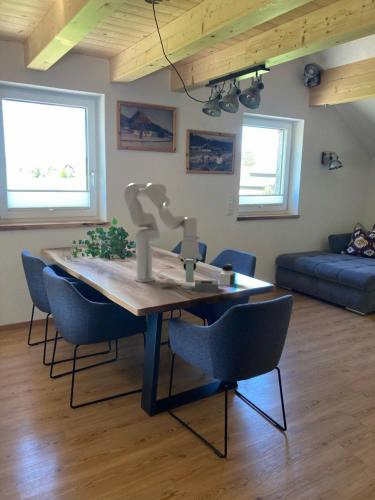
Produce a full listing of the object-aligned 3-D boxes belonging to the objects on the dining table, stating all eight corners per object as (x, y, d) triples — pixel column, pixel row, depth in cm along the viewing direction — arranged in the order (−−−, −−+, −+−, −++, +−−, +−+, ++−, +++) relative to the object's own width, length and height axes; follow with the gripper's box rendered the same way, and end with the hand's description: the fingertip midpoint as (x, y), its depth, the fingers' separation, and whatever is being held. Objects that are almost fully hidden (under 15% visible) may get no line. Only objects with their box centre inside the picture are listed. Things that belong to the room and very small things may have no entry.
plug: (185, 280, 232) (185, 260, 230) (194, 280, 232) (194, 260, 230) (185, 282, 227) (185, 261, 225) (193, 282, 227) (193, 261, 225)
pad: (183, 285, 234) (183, 285, 234) (195, 286, 234) (195, 285, 234) (182, 289, 227) (182, 288, 227) (195, 289, 227) (195, 288, 227)
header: (195, 287, 231) (195, 280, 230) (217, 288, 230) (217, 280, 229) (194, 291, 222) (195, 284, 221) (218, 292, 221) (218, 284, 221)
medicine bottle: (230, 286, 235) (230, 266, 233) (219, 284, 238) (219, 265, 236) (234, 283, 241) (235, 264, 239) (223, 282, 244) (224, 263, 242)
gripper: (204, 237, 229) (204, 268, 232) (175, 237, 229) (175, 268, 232) (204, 239, 221) (204, 271, 224) (174, 239, 222) (174, 271, 225)
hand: (189, 269), depth 228 cm, fingers closed on plug, 4 cm apart
